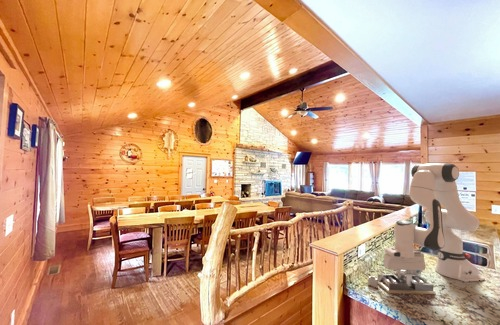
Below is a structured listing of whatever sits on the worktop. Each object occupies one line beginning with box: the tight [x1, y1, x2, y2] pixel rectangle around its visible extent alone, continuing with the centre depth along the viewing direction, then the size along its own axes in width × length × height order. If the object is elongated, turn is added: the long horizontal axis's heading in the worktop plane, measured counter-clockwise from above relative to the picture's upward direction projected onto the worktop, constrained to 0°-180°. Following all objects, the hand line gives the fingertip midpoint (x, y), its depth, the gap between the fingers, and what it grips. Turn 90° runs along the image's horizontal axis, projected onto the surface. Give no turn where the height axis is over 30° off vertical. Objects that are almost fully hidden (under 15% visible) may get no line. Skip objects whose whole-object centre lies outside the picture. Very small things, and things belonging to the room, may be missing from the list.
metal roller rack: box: [377, 273, 437, 295], centre depth 114 cm, size 24×11×4 cm, turn 89°
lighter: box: [368, 272, 384, 289], centre depth 114 cm, size 7×2×8 cm, turn 45°
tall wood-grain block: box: [396, 270, 412, 286], centre depth 114 cm, size 3×7×6 cm, turn 179°
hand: (404, 277), depth 114 cm, fingers closed on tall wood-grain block, 3 cm apart
